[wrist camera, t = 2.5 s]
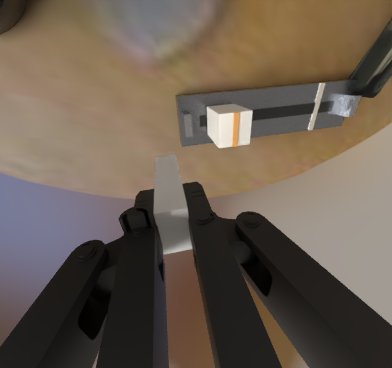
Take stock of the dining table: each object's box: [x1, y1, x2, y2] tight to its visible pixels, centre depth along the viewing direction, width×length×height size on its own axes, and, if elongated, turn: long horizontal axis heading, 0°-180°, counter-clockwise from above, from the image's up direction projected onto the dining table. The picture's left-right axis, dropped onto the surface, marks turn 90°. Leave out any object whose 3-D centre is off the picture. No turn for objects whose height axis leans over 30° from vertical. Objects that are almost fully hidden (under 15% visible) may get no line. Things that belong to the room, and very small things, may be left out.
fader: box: [207, 104, 253, 148], centre depth 24 cm, size 4×4×6 cm
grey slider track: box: [176, 79, 362, 147], centre depth 28 cm, size 7×28×4 cm, turn 94°
